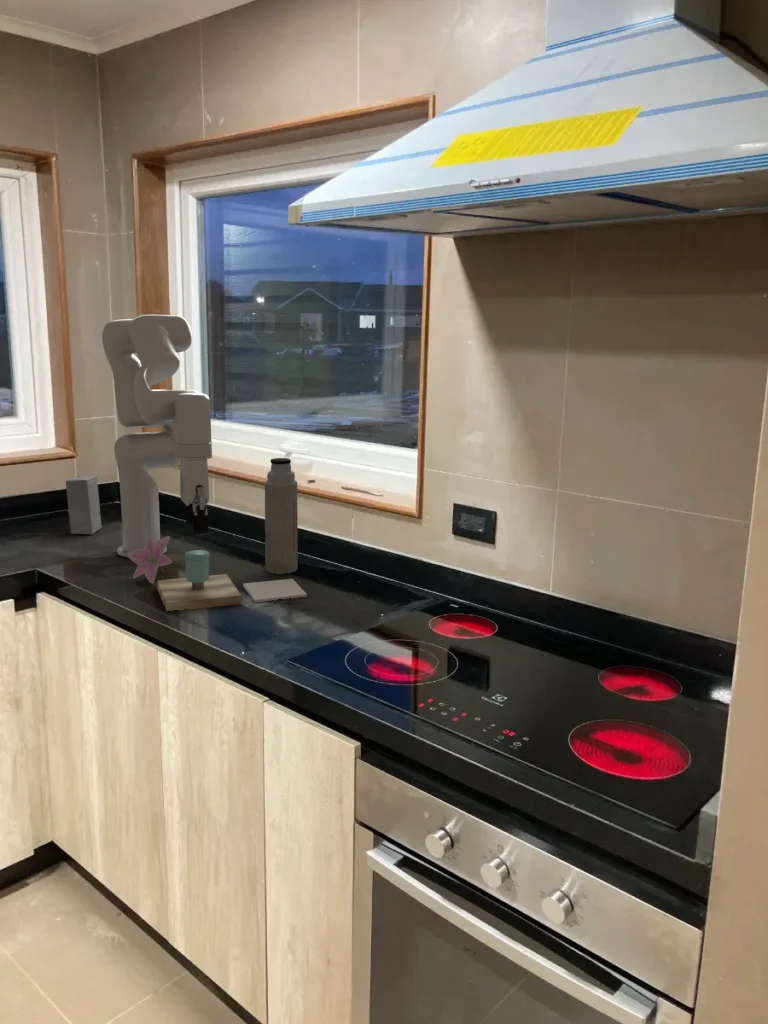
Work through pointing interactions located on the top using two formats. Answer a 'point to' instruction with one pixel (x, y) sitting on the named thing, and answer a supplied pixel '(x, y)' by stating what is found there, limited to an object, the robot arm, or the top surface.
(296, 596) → the grey mat
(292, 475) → the thermos bottle
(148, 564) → the lily
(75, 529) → the skincare box
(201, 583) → the post block
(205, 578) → the cap
